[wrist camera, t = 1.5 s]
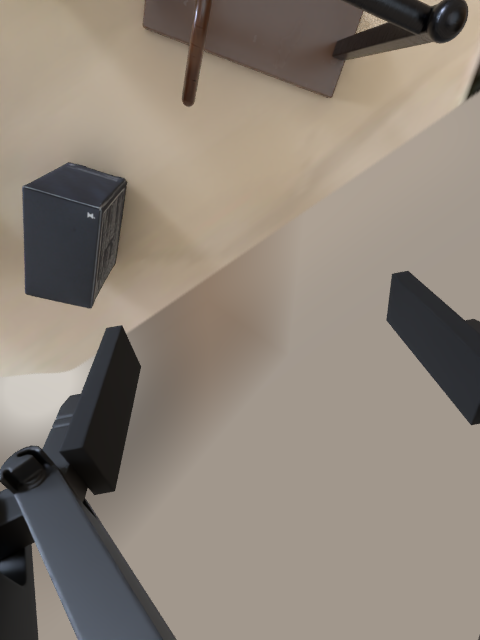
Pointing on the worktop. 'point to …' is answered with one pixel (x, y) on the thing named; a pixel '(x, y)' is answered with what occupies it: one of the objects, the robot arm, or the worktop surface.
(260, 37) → the clothes rail
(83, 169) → the small box
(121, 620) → the robot arm
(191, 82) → the hanger
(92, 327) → the worktop surface
